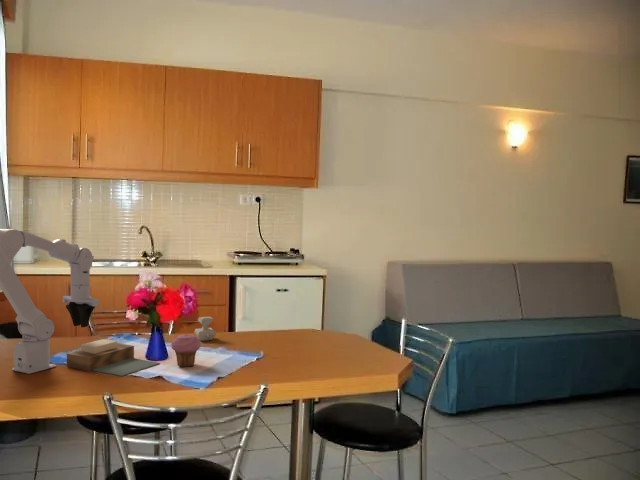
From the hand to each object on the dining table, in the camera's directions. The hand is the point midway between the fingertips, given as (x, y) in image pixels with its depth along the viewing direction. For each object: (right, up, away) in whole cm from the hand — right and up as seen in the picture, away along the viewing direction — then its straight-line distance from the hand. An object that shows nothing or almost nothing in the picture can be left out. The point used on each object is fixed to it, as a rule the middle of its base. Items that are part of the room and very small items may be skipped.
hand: (80, 326), depth 193 cm
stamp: (+35, -10, +30) cm, 47 cm away
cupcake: (+35, -12, -6) cm, 38 cm away
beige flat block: (+7, -7, -4) cm, 11 cm away
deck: (+8, -11, -4) cm, 14 cm away
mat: (+18, -11, -9) cm, 23 cm away
